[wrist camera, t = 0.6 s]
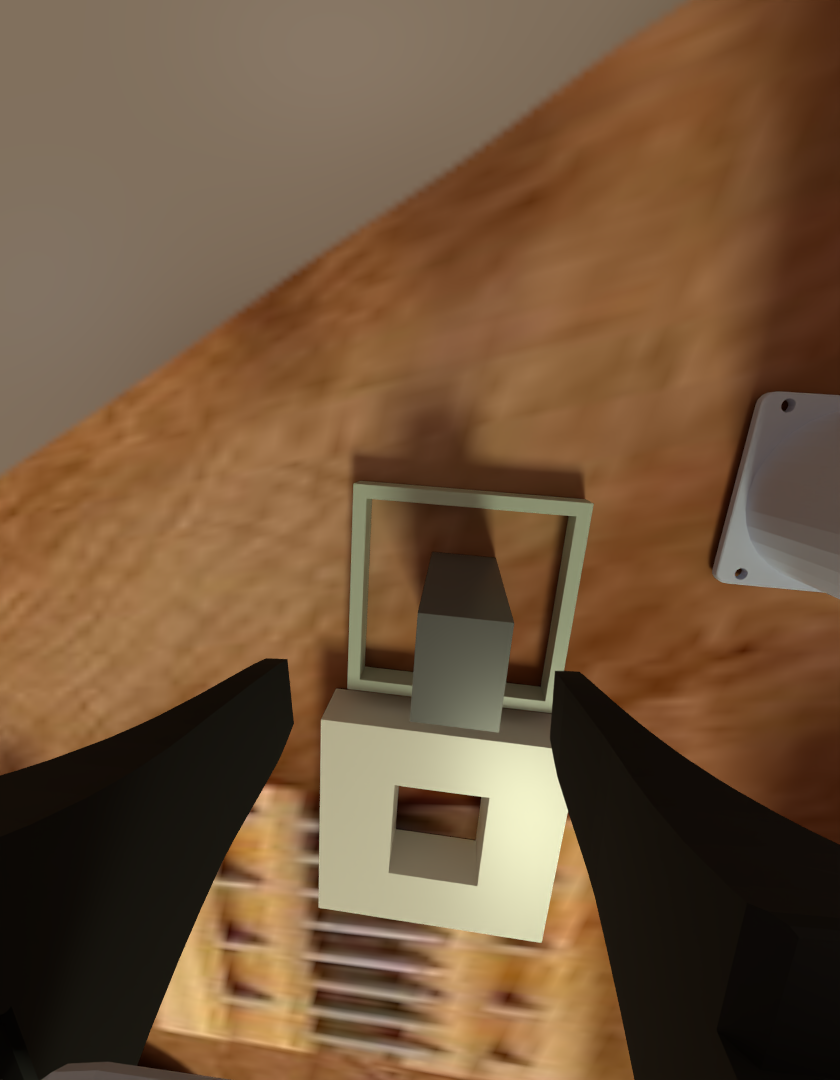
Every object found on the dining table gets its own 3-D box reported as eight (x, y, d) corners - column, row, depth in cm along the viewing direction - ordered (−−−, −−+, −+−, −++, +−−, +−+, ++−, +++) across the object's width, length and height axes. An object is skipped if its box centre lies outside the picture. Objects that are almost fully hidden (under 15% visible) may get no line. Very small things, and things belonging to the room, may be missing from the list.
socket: (566, 715, 21) (579, 751, 19) (533, 892, 24) (541, 942, 22) (336, 688, 22) (320, 719, 20) (332, 862, 25) (318, 907, 23)
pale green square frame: (585, 499, 19) (593, 503, 17) (551, 698, 21) (556, 713, 20) (359, 480, 19) (353, 483, 18) (353, 675, 22) (347, 688, 21)
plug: (495, 557, 20) (514, 623, 13) (486, 634, 21) (498, 732, 14) (432, 551, 20) (417, 613, 13) (425, 628, 21) (409, 721, 14)
